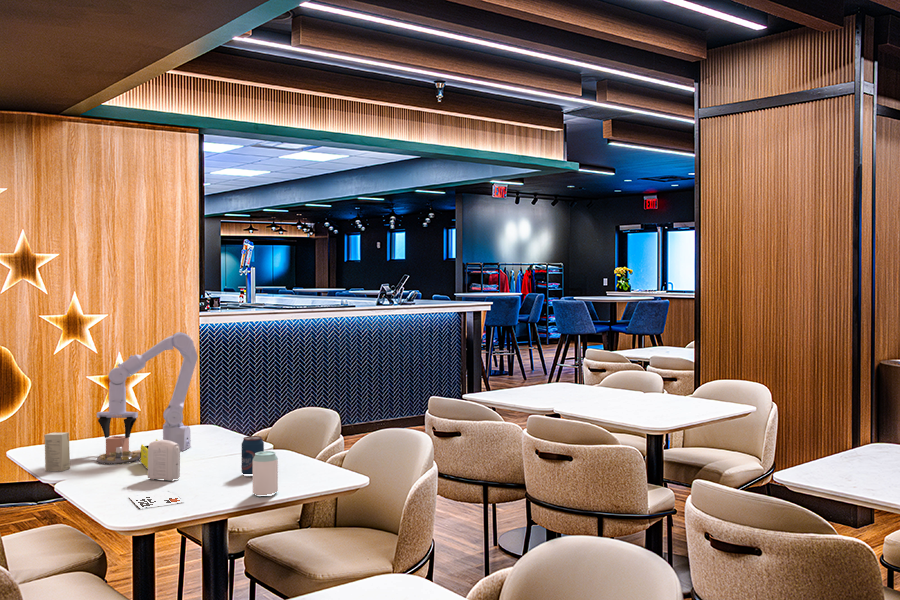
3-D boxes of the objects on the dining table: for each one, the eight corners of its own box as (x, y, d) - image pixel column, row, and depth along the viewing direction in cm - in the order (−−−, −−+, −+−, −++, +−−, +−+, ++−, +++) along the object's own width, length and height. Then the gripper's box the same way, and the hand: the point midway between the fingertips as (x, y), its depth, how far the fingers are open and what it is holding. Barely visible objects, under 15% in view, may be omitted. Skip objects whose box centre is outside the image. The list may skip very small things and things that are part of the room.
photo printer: (182, 479, 235) (182, 439, 235) (173, 482, 231) (173, 442, 231) (154, 477, 238) (154, 438, 238) (145, 480, 234) (145, 440, 234)
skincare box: (70, 468, 250) (70, 432, 250) (62, 471, 245) (62, 434, 245) (52, 468, 250) (52, 431, 250) (44, 471, 246) (43, 434, 246)
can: (254, 498, 211) (254, 456, 211) (250, 493, 218) (250, 451, 218) (279, 496, 214) (279, 454, 214) (275, 490, 220) (275, 449, 220)
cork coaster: (160, 450, 279) (160, 449, 279) (149, 455, 270) (149, 454, 270) (136, 450, 280) (136, 449, 280) (125, 455, 271) (125, 454, 271)
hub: (147, 456, 270) (147, 443, 270) (129, 464, 256) (129, 451, 256) (109, 455, 271) (109, 443, 271) (89, 464, 257) (89, 451, 257)
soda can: (237, 476, 238) (237, 438, 238) (250, 471, 245) (249, 435, 245) (255, 478, 236) (255, 440, 236) (268, 473, 242) (268, 436, 242)
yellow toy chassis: (166, 471, 247) (166, 445, 247) (148, 473, 244) (148, 447, 244) (157, 462, 261) (157, 438, 261) (139, 464, 258) (139, 439, 258)
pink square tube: (128, 452, 277) (128, 435, 277) (121, 455, 271) (121, 438, 271) (113, 452, 277) (113, 435, 277) (105, 455, 272) (105, 438, 272)
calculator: (139, 507, 200) (128, 495, 213) (139, 511, 200) (128, 498, 213) (184, 500, 207) (170, 489, 219) (184, 504, 207) (170, 493, 219)
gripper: (92, 401, 271) (92, 439, 271) (131, 402, 270) (131, 439, 270) (102, 399, 278) (102, 435, 278) (140, 399, 277) (140, 436, 277)
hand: (117, 437), depth 274 cm, fingers open, 7 cm apart
